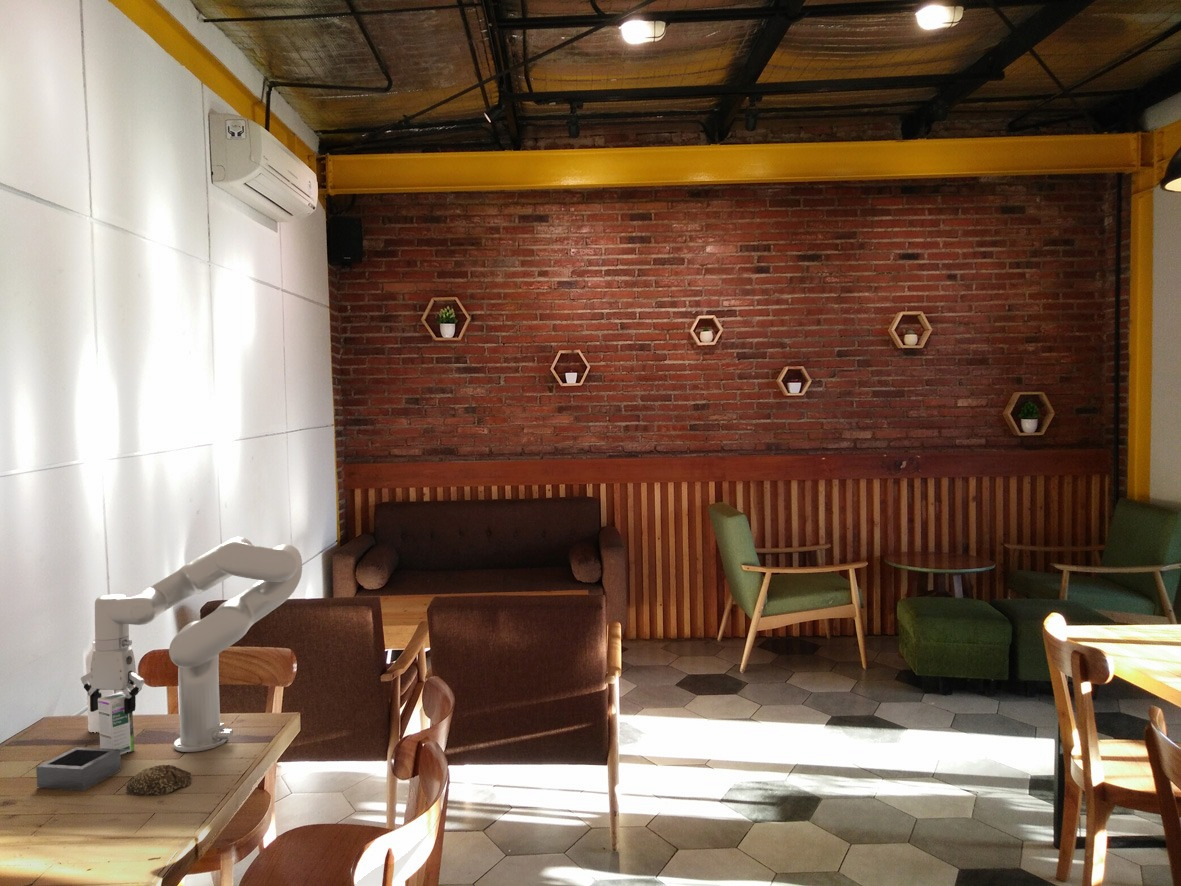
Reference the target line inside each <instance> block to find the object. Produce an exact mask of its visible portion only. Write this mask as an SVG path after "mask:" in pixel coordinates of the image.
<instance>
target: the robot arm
mask: <svg viewBox="0 0 1181 886" xmlns="http://www.w3.org/2000/svg"><path fill="white" fill-rule="evenodd" d="M302 574H303V559H302V555H301V553H300V551H299V550H298V548H296V547H295V546H293V545H291V544H287V543H284V544H280V545H279V544H278V545H277V546H275V547H273V548H272V547H266V546H259V545H254V544H253V543H252V542H251V541H250V540H249V539H248V538H245V537H241V536H236V537H235V536H234V537H232V538H229V539H227V540H225V541H224V542H222V543H220V544H219V545H217V546H215V547H213V548H211V549H210V550H209V551H207V552H205V553H202V554H201V555H200V556H198V557H196V558H195V559H193V560H190V561H189V562H188V563H186V564H184V565H183V566H182V567H181V568H179V569H178V570H176V571H175V572H174V573H172V574H170V575H168V576H167V577H164V578H163V579H161V580H159V581H158V582H156V583H154V584H153V585H151V586H149V587H147V588H145V589H143V590H142V591H141V592H139V593H138V594H136V595H133V596H129V597H128V596H127V595H125V594H122V593H111V594H104V595H100V596H98V597H97V598H96V599H95V600H94V639H95V650H94V651H93V655H92V661H91V670H90V673H88V674H84V675H82V676H81V677H80V680H81V683H82V685H83V689H84V690H85V691H86V693H87V694H88V696H90V711H91V712H94V711H96V710H98V698H101V693H99V691H100V690H101V689H102V690H114V691H121V692H123V693H124V694H125V696H126V697H127V698H125V699H124V713H125V714H129V713H131V712H135V711H136V703H137V701H136V697H137V695H138V694H139V693H140V691H141V690H143V689H142V688H143V686H144V684H145V681H146V680H145V679H144V678H143V677H141V676H139V675H138V674H137V667H136V658H135V655H134V650H133V648H132V647H130V646H132V644H133V641H132V640H130V627H129V626H130V625H132V626H145V625H148V624H149V623H151V622H153V621H154V620H156V618H158V617H159V616H160V615H161V614H163V613H164V612H166V611H167V610H169V609H171V608H173V607H174V606H176V605H177V604H180V603H181V602H182V601H184V600H186V599H188V598H190V597H192V596H195V595H199V594H202V593H203V594H204V593H205V592H207V591H209V590H210V589H212V588H213V587H215V586H217V585H219V584H221V583H222V582H223V581H225V580H227V579H229V578H230V577H232V576H234V577H239V578H244V579H251V580H256V581H257V582H255V583H254V584H252V585H251V586H249V587H248V588H247V589H245V590H243V591H241V592H240V593H238V594H236V595H235V596H234V597H232V598H229V599H227V600H226V601H224V602H222V603H221V604H220V605H219V606H217V608H216V609H214V611H212V612H211V613H209V614H207V615H206V616H205V617H203V618H202V619H200V620H193V621H191V622H189V623H187V624H186V625H184V626H183V627H182V628H181V629H180V630H179V631H178V632H177V634H176V635H175V636H174V637H173V638H172V640H171V642H170V645H169V649H168V653H169V658H170V660H171V662H172V663H173V664H174V665H176V666H177V668H178V673H177V674H178V675H177V678H178V679H177V680H178V684H177V685H178V709H179V710H178V712H179V736H180V737H178V738H177V739H176V740H174V742H173V749H175V750H176V751H178V752H183V753H194V752H195V753H197V752H201V751H203V752H204V751H207V750H211V749H214V748H216V747H219V746H222V745H223V744H225V743H226V742H227V740H228V741H229V740H231V739H232V738H233V733H234V729H233V728H225V723H224V722H221V713H220V712H221V711H220V710H221V709H220V707H221V706H220V704H221V703H220V682H219V681H220V680H219V679H220V677H219V675H220V674H219V673H220V672H219V671H220V670H219V659H220V658H219V654H220V653H222V652H223V651H225V650H227V649H228V648H229V647H232V646H233V645H234V644H235V643H237V642H238V641H239V640H241V639H242V638H243V637H244V636H245V635H246V634H247V632H248V631H249V630H250V628H251V627H252V626H253V625H254V624H255V623H257V622H258V621H261V619H263V618H265V617H266V616H267V615H269V614H270V613H271V612H272V611H274V610H275V609H277V608H278V607H280V606H281V605H282V604H283V603H285V602H286V601H288V599H289V598H290V597H291V596H292V595H293V594H294V592H295V591H296V589H297V587H298V585H299V583H300V581H301V578H302ZM90 682H91V683H90ZM87 694H86V695H87Z"/></svg>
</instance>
